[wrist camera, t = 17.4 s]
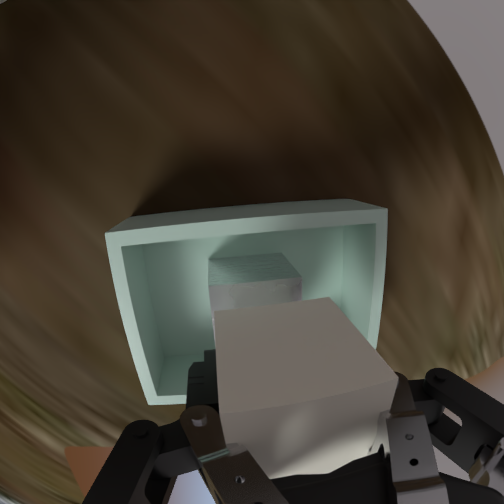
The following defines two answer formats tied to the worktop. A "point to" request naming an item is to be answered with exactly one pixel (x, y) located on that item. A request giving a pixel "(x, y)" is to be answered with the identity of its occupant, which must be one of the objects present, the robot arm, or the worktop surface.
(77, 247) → the worktop surface
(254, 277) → the steel block
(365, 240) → the tote
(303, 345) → the cream box
